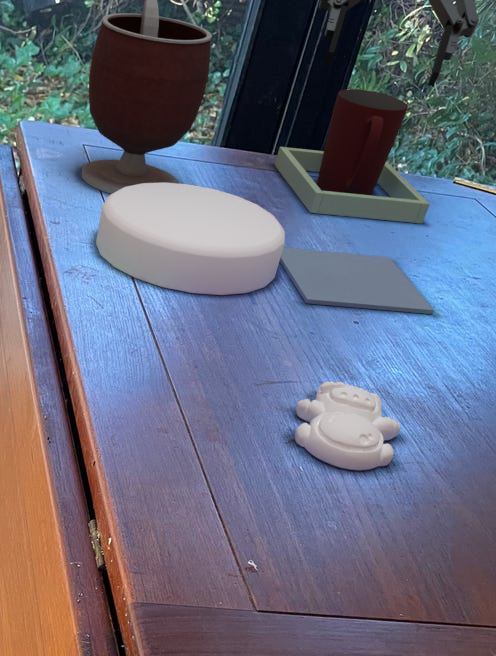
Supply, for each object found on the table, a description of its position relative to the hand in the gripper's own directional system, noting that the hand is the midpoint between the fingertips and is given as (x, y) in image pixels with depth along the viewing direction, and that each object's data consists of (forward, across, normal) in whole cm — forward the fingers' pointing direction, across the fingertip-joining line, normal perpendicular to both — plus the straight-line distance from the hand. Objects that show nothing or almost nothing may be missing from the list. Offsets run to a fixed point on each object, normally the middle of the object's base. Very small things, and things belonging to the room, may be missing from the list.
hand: (380, 69), depth 130 cm
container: (+40, +16, +21) cm, 48 cm away
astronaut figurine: (+62, -3, +44) cm, 76 cm away
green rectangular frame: (+16, 0, -3) cm, 16 cm away
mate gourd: (+25, +27, +6) cm, 37 cm away
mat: (+38, -2, +19) cm, 42 cm away
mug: (+16, 0, -3) cm, 16 cm away
